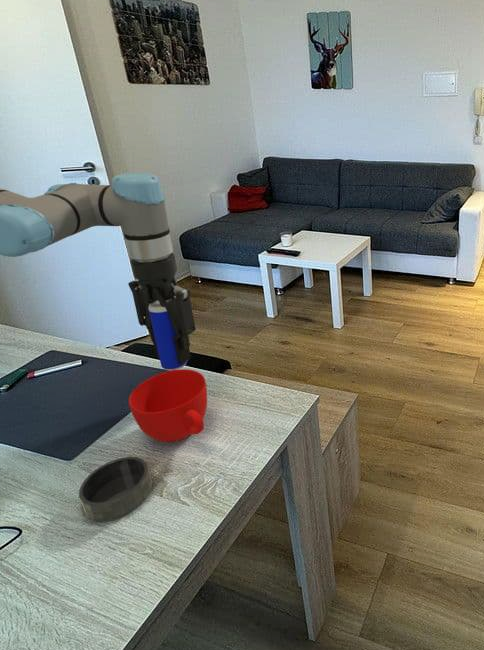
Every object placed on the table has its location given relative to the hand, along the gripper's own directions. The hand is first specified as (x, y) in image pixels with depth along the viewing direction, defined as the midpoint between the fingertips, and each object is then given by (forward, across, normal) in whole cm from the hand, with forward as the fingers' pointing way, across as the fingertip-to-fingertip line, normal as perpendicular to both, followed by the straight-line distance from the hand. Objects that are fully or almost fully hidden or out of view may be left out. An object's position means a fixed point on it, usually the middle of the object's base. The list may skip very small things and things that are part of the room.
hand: (173, 357), depth 92 cm
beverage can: (+2, 0, 0) cm, 2 cm away
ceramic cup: (+10, -10, +9) cm, 17 cm away
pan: (+10, -11, +24) cm, 28 cm away
